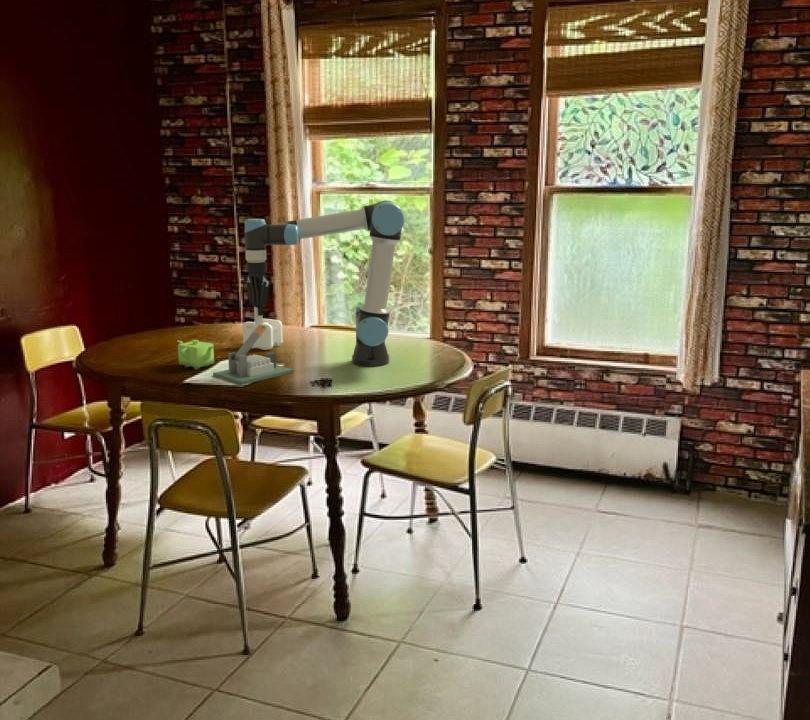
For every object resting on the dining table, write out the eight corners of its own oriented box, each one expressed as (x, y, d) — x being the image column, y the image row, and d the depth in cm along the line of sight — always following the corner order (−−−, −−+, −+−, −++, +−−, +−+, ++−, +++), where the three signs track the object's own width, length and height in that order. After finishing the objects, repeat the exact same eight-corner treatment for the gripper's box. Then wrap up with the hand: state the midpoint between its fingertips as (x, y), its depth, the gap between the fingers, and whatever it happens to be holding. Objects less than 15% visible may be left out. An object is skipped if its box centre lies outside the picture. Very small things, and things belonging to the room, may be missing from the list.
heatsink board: (293, 372, 302) (292, 349, 299) (241, 384, 284) (240, 360, 282) (264, 364, 313) (263, 342, 311) (213, 375, 296) (211, 352, 294)
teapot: (215, 369, 305) (214, 343, 303) (180, 372, 301) (178, 345, 299) (212, 360, 319) (211, 335, 317) (178, 363, 315) (176, 337, 313)
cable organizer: (284, 346, 345) (284, 320, 342) (270, 351, 336) (269, 324, 333) (257, 343, 351) (256, 317, 348) (242, 347, 342) (241, 321, 339)
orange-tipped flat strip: (268, 328, 297) (265, 325, 296) (241, 362, 291) (238, 359, 290) (260, 327, 300) (257, 323, 299) (233, 360, 294) (230, 357, 293)
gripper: (275, 261, 290) (277, 324, 295) (253, 258, 298) (256, 320, 304) (259, 263, 284) (261, 327, 290) (237, 260, 293) (240, 322, 298)
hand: (258, 323), depth 297 cm, fingers closed
